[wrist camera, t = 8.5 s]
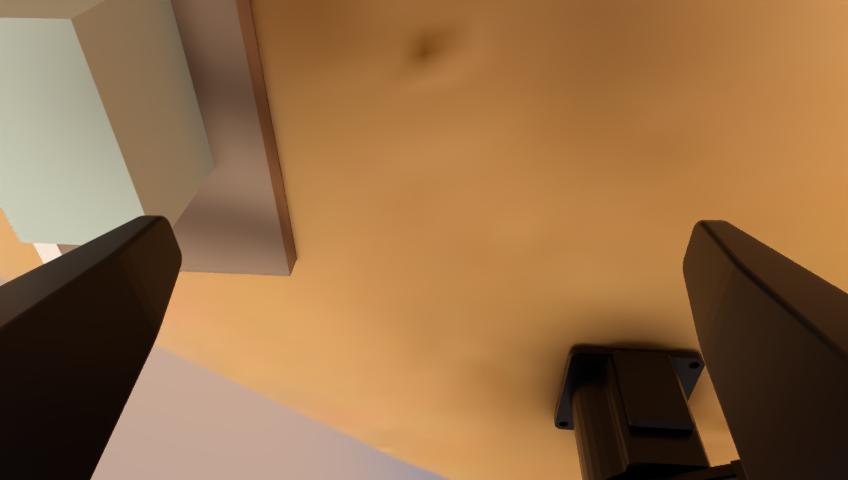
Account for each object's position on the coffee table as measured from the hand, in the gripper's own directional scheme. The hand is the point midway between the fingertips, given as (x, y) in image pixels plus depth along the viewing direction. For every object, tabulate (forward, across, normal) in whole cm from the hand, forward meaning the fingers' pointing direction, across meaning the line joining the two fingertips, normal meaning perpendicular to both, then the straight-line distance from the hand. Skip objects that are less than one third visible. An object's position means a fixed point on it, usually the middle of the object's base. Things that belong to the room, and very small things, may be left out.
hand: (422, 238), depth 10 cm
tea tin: (+10, +11, +1) cm, 15 cm away
